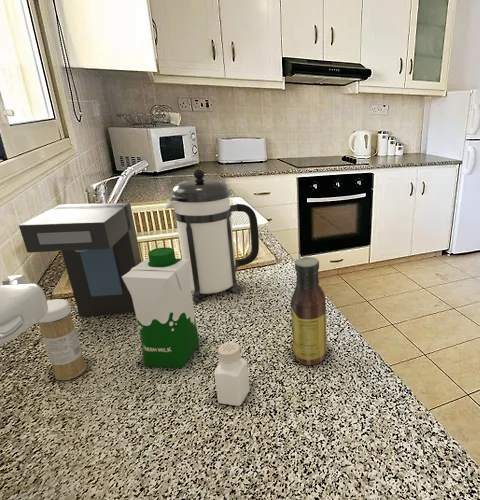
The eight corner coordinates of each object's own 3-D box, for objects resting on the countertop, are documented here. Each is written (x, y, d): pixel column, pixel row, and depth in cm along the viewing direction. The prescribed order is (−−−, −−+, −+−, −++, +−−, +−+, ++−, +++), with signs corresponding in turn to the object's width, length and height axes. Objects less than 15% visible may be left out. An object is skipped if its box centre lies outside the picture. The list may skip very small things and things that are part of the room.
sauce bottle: (303, 343, 74) (300, 250, 66) (332, 351, 72) (332, 255, 64) (286, 363, 68) (281, 263, 61) (317, 372, 66) (316, 270, 59)
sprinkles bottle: (68, 363, 67) (48, 297, 62) (93, 364, 66) (74, 298, 61) (48, 381, 62) (24, 311, 57) (74, 382, 62) (53, 312, 57)
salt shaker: (251, 390, 62) (246, 341, 58) (240, 408, 58) (235, 357, 54) (228, 386, 62) (223, 338, 59) (216, 404, 58) (209, 354, 55)
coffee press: (225, 309, 85) (210, 177, 74) (167, 298, 89) (144, 172, 78) (262, 278, 101) (255, 165, 90) (211, 269, 105) (198, 161, 94)
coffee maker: (55, 345, 71) (17, 226, 63) (87, 307, 84) (59, 204, 76) (129, 338, 74) (103, 222, 65) (149, 302, 87) (130, 202, 78)
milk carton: (205, 341, 73) (192, 247, 66) (184, 372, 65) (166, 268, 58) (162, 339, 74) (143, 245, 66) (135, 370, 65) (111, 266, 58)
